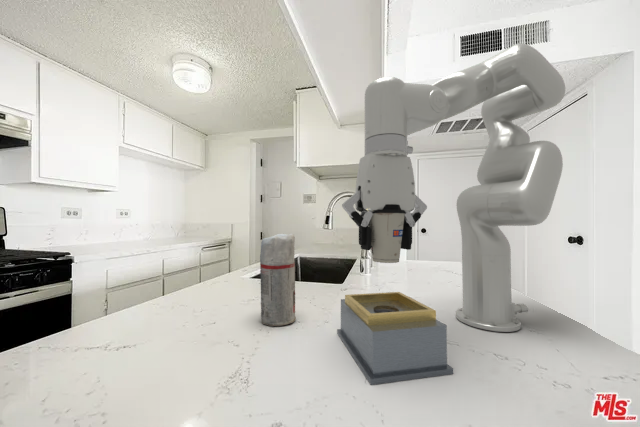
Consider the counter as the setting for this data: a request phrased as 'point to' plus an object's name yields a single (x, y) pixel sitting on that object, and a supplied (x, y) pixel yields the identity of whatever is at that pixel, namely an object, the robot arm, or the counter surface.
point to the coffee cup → (387, 233)
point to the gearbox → (393, 337)
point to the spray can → (277, 280)
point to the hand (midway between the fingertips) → (385, 248)
